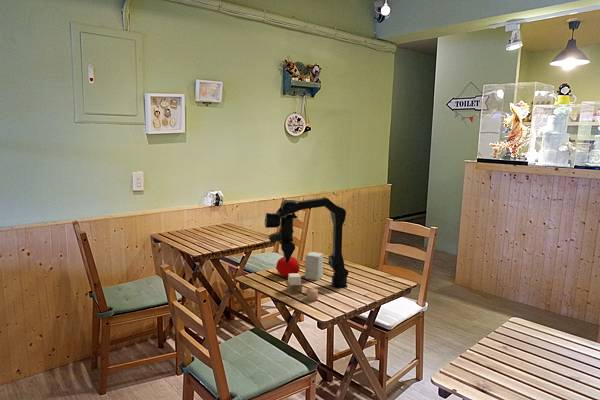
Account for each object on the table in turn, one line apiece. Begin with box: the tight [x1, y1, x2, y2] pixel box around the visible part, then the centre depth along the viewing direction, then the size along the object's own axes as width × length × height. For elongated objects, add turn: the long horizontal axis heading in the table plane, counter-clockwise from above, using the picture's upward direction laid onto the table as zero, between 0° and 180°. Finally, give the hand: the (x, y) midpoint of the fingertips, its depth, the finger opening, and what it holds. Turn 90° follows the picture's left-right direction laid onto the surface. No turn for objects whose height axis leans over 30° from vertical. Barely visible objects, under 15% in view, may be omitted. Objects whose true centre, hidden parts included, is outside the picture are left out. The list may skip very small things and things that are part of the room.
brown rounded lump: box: [305, 287, 319, 303], centre depth 188 cm, size 5×5×4 cm
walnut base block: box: [286, 281, 303, 295], centre depth 197 cm, size 6×6×4 cm
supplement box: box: [304, 251, 324, 281], centre depth 217 cm, size 7×7×13 cm
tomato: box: [275, 256, 301, 278], centre depth 218 cm, size 11×12×10 cm
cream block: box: [287, 272, 302, 285], centre depth 197 cm, size 5×5×4 cm
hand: (285, 259), depth 199 cm, fingers open, 9 cm apart
